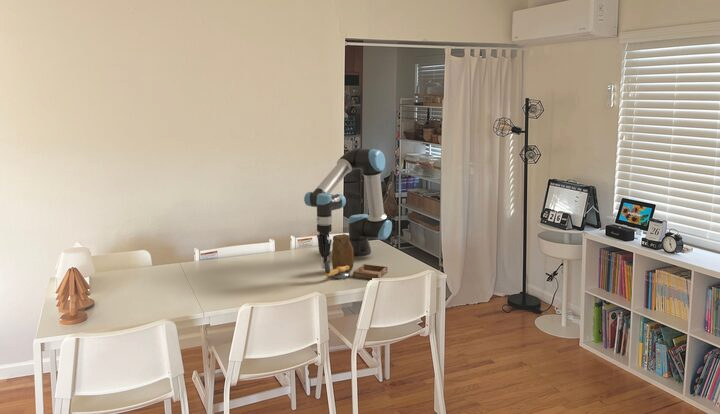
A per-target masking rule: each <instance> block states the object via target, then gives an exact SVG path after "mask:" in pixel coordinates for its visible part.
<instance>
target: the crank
mask: <svg viewBox="0 0 720 414" xmlns="http://www.w3.org/2000/svg"><path fill="white" fill-rule="evenodd" d="M330 262H331V261H330V260H327V261H326V262H325V269H324V273H325V274H324V275H325V276H326V277H331V275H334V274H337V273H339V272H345V270H348V269H350V266H347V265H346V266H343V267H336V269H334V270H333V269H331V263H330Z"/></svg>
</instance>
